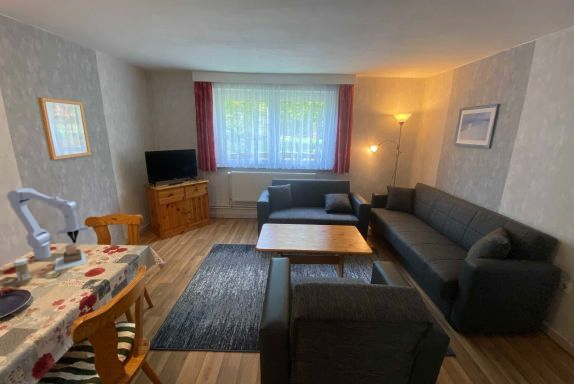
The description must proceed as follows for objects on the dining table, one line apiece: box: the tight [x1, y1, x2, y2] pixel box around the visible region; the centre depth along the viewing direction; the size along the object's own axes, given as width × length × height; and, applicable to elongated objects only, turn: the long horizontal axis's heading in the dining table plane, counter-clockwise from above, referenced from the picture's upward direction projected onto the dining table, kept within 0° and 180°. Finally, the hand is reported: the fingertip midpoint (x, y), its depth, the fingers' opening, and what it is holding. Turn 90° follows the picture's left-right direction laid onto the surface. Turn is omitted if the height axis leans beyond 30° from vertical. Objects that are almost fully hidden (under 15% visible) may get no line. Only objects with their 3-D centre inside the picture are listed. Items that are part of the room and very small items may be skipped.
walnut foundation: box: [62, 248, 82, 263], centre depth 153 cm, size 8×8×4 cm
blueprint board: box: [54, 252, 87, 271], centre depth 151 cm, size 17×14×1 cm
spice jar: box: [13, 258, 31, 287], centre depth 127 cm, size 5×5×13 cm
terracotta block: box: [65, 243, 78, 255], centre depth 152 cm, size 5×5×5 cm
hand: (74, 242), depth 154 cm, fingers closed
